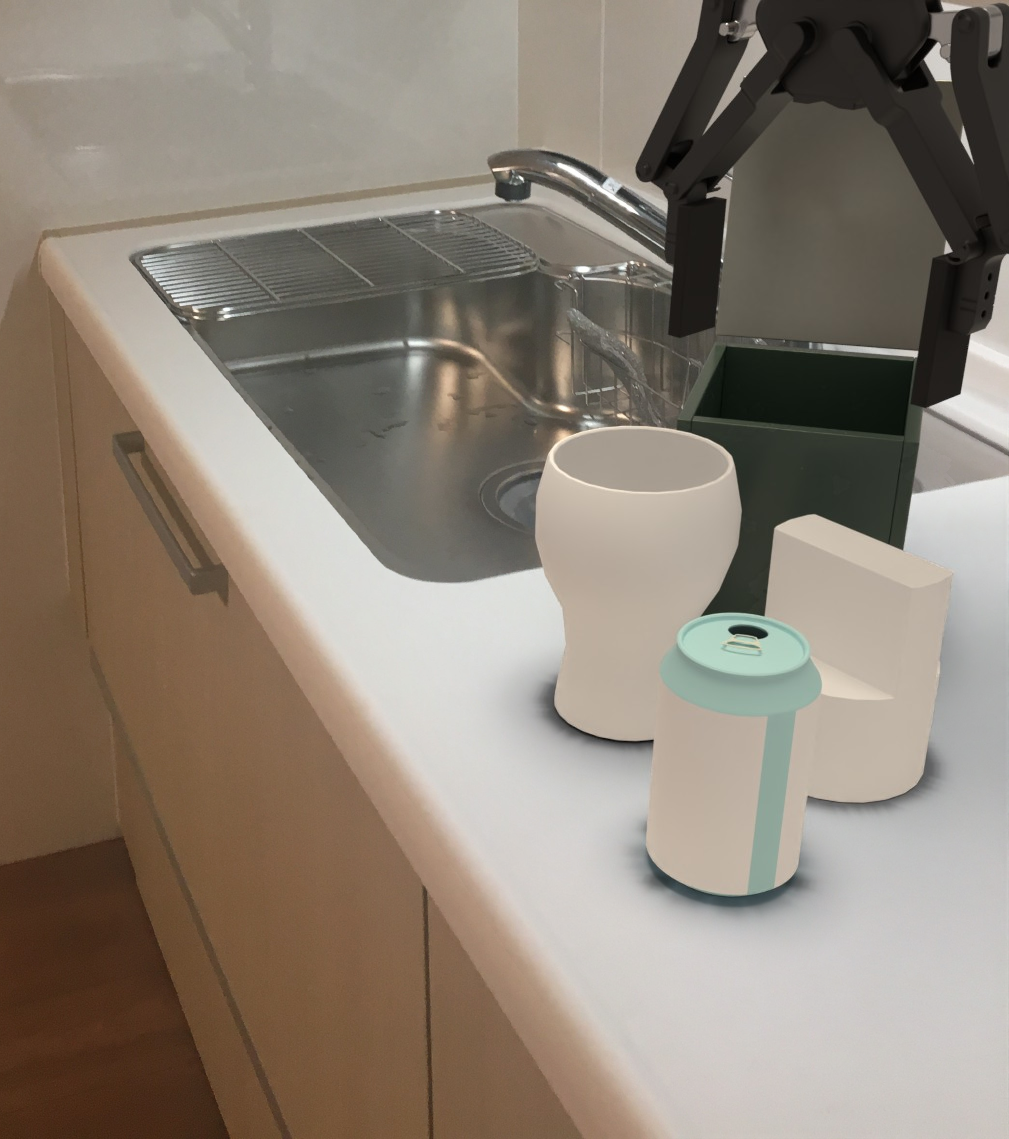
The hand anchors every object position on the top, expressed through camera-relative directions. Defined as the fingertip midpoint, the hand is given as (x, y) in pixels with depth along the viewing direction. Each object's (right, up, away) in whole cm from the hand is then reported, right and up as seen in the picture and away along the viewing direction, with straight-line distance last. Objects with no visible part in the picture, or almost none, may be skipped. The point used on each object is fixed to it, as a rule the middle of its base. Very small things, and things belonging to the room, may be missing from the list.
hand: (805, 363), depth 74 cm
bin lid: (+9, +12, +20) cm, 25 cm away
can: (-4, -24, +1) cm, 24 cm away
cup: (-6, -18, +14) cm, 23 cm away
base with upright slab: (+4, -20, +9) cm, 22 cm away
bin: (+6, -12, +23) cm, 27 cm away
